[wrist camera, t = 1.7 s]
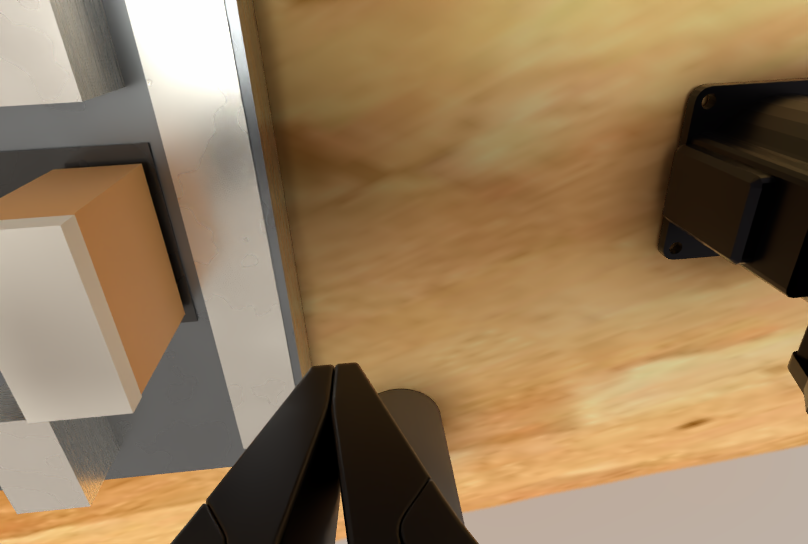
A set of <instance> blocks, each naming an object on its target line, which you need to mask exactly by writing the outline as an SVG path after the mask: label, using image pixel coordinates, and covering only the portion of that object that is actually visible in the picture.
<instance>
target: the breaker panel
mask: <svg viewBox="0 0 808 544" xmlns="http://www.w3.org/2000/svg"><path fill="white" fill-rule="evenodd" d="M128 164H142V167H143V170H144V174H145V177H146V181H147V184H148V187H149V191H150V194H151V198H152V201H153V205H154V208H155V212H156V215H157V219H158V222H159V225H160V229H161V232H162V236H163V239H164V243H165V246H166V250H167V253H168V256H169V260H170V263H171V267H172V270H173V274H174V277H175V281H176V284H177V288H178V291H179V294H180V298H181V301H182V305H183V308H184V312H185V315H184V317H183V319H182V321H181V323H180V325H179V326H178V328H177V330H176V332H175V334H174V336H173V337H172V339H171V341H170V343H169V345H168V347H167V348H166V350H165V352H164V354H163V356H162V358H161V359H160V361H159V363H158V365H157V367H156V369H155V370H154V372H153V374H152V376H151V378H150V380H149V381H148V383H147V385H146V387H145V389H144V391H143V392H142V394H141V395H142V398H141V400H140V402H139V403H138V405H137V407H136V409H135V411H134V413H131V414H121V415H110V416H100V417H89V418H79V419H68V420H58V421H47V422H37V423H27V421H26V419H25V417H24V415H23V413H22V411H21V409H20V407H19V405H18V404H17V402H16V400H15V398H14V396H13V394H12V392H11V390H10V388H9V386H8V384H7V383H6V381H5V379H4V377H3V375H2V373H1V371H0V490H3V491H4V493H5V495H6V496H7V498H8V500H9V501H10V503H11V505H12V506H13V508H14V509H15V511H16V513H17V514H21V513H31V512H40V511H50V510H59V509H69V508H78V507H88V506H91V504H92V502H93V501H94V499H95V497H96V495H97V493H98V491H99V489H100V487H101V485H102V483H103V481H104V480H107V479H116V478H126V477H136V476H146V475H155V474H165V473H175V472H185V471H194V470H204V469H214V468H223V467H233V465H234V464H235V463H236V462H237V460H238V459H239V458H240V457H241V455H242V454H243V453H244V452H245V450H246V449H247V448H248V446H249V445H250V444H251V443H252V441H253V440H254V439H255V438H256V436H257V435H258V434H259V433H260V431H261V430H262V429H263V427H264V426H265V425H266V424H267V422H268V421H269V420H270V419H271V417H272V416H273V415H274V414H275V412H276V411H277V410H278V408H279V407H280V406H281V405H282V403H283V402H284V401H285V400H286V398H287V397H288V396H289V395H290V393H291V392H292V391H293V390H294V388H295V387H296V386H297V384H298V383H299V382H300V381H301V379H302V378H303V377H304V376H305V374H306V373H307V372H308V371H309V369H310V368H311V367H312V364H311V358H310V352H309V346H308V339H307V333H306V327H305V321H304V315H303V308H302V302H301V296H300V290H299V284H298V277H297V271H296V265H295V259H294V253H293V247H292V240H291V234H290V228H289V222H288V216H287V209H286V203H285V197H284V191H283V185H282V178H281V172H280V166H279V160H278V154H277V148H276V141H275V135H274V129H273V123H272V117H271V110H270V104H269V98H268V92H267V86H266V79H265V73H264V67H263V61H262V55H261V48H260V42H259V36H258V30H257V24H256V18H255V11H254V5H253V0H0V198H1V197H3V196H5V195H7V194H9V193H11V192H12V191H14V190H16V189H18V188H20V187H22V186H24V185H25V184H27V183H29V182H31V181H33V180H35V179H36V178H38V177H40V176H42V175H44V174H46V173H48V172H49V171H51V170H53V169H68V168H83V167H98V166H113V165H128Z"/></svg>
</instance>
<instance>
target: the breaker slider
mask: <svg viewBox="0 0 808 544" xmlns="http://www.w3.org/2000/svg"><path fill="white" fill-rule="evenodd" d="M184 315H185V312H184V308H183V305H182V301H181V298H180V294H179V291H178V288H177V284H176V281H175V277H174V274H173V270H172V267H171V263H170V260H169V256H168V253H167V250H166V246H165V243H164V239H163V236H162V232H161V229H160V225H159V222H158V219H157V215H156V212H155V208H154V205H153V201H152V198H151V194H150V191H149V187H148V184H147V181H146V177H145V174H144V170H143V167H142V164H128V165H113V166H98V167H83V168H68V169H53V170H51V171H49V172H48V173H46V174H44V175H42V176H40V177H38V178H36V179H35V180H33V181H31V182H29V183H27V184H25V185H24V186H22V187H20V188H18V189H16V190H14V191H12V192H11V193H9V194H7V195H5V196H3V197H1V198H0V371H1V373H2V375H3V377H4V379H5V381H6V383H7V384H8V386H9V388H10V390H11V392H12V394H13V396H14V398H15V400H16V402H17V404H18V405H19V407H20V409H21V411H22V413H23V415H24V417H25V419H26V421H27V423H37V422H47V421H58V420H68V419H79V418H89V417H100V416H110V415H121V414H131V413H134V411H135V409H136V407H137V405H138V403H139V402H140V400H141V398H142V395H141V394H142V392H143V391H144V389H145V387H146V385H147V383H148V381H149V380H150V378H151V376H152V374H153V372H154V370H155V369H156V367H157V365H158V363H159V361H160V359H161V358H162V356H163V354H164V352H165V350H166V348H167V347H168V345H169V343H170V341H171V339H172V337H173V336H174V334H175V332H176V330H177V328H178V326H179V325H180V323H181V321H182V319H183V317H184Z"/></svg>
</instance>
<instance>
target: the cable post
mask: <svg viewBox="0 0 808 544" xmlns="http://www.w3.org/2000/svg"><path fill="white" fill-rule="evenodd" d="M378 395H379V397H380V399H381V400H382V402H383V403H384V405H385V406H386V408H387V409H388V411H389V413H390V414H391V416H392V417H393V419H394V420H395V422H396V424H397V425H398V427H399V428H400V430H401V431H402V433H403V434H404V436H405V438H406V439H407V441H408V442H409V444H410V445H411V447H412V448H413V450H414V452H415V453H416V455H417V456H418V458H419V459H420V461H421V463H422V464H423V466H424V467H425V469H426V470H427V472H428V473H429V475H430V477H431V480H432V481H434V482H435V484H436V486H437V487H438V489H439V490H440V492H441V493H442V495H443V496H444V498H445V499H446V501H447V502H448V504H449V505H450V507H451V508H452V509H453V511H454V512H455V514H456V515H457V517H458V518H459V520H460V521H461V522H462V524H463V525H464V521H463V516H462V511H461V507H460V502H459V497H458V493H457V488H456V484H455V479H454V474H453V470H452V465H451V461H450V456H449V451H448V447H447V442H446V438H445V433H444V428H443V424H442V419H441V415H440V411H439V409H438V407H437V405H436V404H435V402H434V401H433V400H432V399H430V398H429V397H428V396H426V395H424V394H422V393H420V392H417V391H413V390H408V389H395V390H389V391H385V392H382V393H380V394H378ZM464 526H465V525H464Z"/></svg>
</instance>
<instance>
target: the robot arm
mask: <svg viewBox="0 0 808 544" xmlns="http://www.w3.org/2000/svg"><path fill="white" fill-rule="evenodd" d="M706 95H709V100H708V102H707V104H706V105H705V106H703V107H702V100H703V98H704V97H705V96H706ZM663 215H664V219H663V223H662V228H661V233H660V238H659V243H658V250H659V252H660V253H661V254H662V255H663V256H665V257H666V258H668V259H672V260H675V259H687V258H699V257H711V256H722V257H723V258H725V259H726V260H728V261H729V262H731V263H732V264H739V265H741V266H742V267H744V268H745V269H747V270H748V271H750V272H751V273H753V274H754V275H756V276H758V277H759V278H761V279H762V280H764V281H765V282H767V283H768V284H770V285H771V286H773V287H774V288H776V289H777V290H779V291H780V292H782V293H783V294H785V295H786V296H788V297H791V298H798V297H801V298H802V299H804V300H806V301H807V302H808V78H801V79H785V80H768V81H752V82H736V83H720V84H705V85H701V86H699V87H697V88H696V89H694V91H693V92H692V93H691V94H690V97H689V99H688V103H687V108H686V112H685V117H684V122H683V127H682V132H681V137H680V141H679V146H678V149H677V150H676V152H675V155H674V160H673V165H672V170H671V174H670V179H669V184H668V189H667V194H666V199H665V204H664V209H663ZM673 243H676V245H675V247H674V248H673V249H670V247H671V245H672V244H673ZM788 369H789V371H790V373H791V374H792V376H793V378H794V379H795V381H796V382H797V384H798V386H799V387H800V389H801V391H802V392H803V394H804V397H805V407H806V412H807V414H808V326H807V329H806V331H805V334H804V336H803V339H802V342H801V344H800V347H799V349H798V351H795V352H793V354H792V356H791V359H790V362H789V364H788ZM340 491H341V497H342V505H343V512H344V520H345V527H346V535H347V542H348V544H478V542H477V541H476V540H475V539H474V537H473V536H472V535H471V533H470V532H469V531H468V530H467V528H466V527H465V526H464V525H463V524H462V522H461V521H460V520H459V518H458V517H457V515H456V514H455V512H454V511H453V509H452V508H451V507H450V505H449V504H448V502H447V501H446V499H445V498H444V496H443V495H442V493H441V492H440V490H439V489H438V487H437V486H436V484H435V482H434V481H432V480H431V477H430V475H429V473H428V472H427V470H426V469H425V467H424V466H423V464H422V463H421V461H420V459H419V458H418V456H417V455H416V453H415V452H414V450H413V448H412V447H411V445H410V444H409V442H408V441H407V439H406V438H405V436H404V434H403V433H402V431H401V430H400V428H399V427H398V425H397V424H396V422H395V420H394V419H393V417H392V416H391V414H390V413H389V411H388V409H387V408H386V406H385V405H384V403H383V402H382V400H381V399H380V397H379V395H378V394H377V392H376V391H375V389H374V388H373V386H372V384H371V383H370V381H369V380H368V378H367V377H366V375H365V374H364V372H363V370H362V369H361V367H360V366H359V364H357V363H343V364H337V365H336V366H335V367H334V366H333V365H320V366H313V367H311V368H310V369H309V371H308V372H307V373H306V374H305V376H304V377H303V378H302V379H301V381H300V382H299V383H298V384H297V386H296V387H295V388H294V390H293V391H292V392H291V393H290V395H289V396H288V397H287V398H286V400H285V401H284V402H283V403H282V405H281V406H280V407H279V408H278V410H277V411H276V412H275V414H274V415H273V416H272V417H271V419H270V420H269V421H268V422H267V424H266V425H265V426H264V427H263V429H262V430H261V431H260V433H259V434H258V435H257V436H256V438H255V439H254V440H253V441H252V443H251V444H250V445H249V446H248V448H247V449H246V450H245V452H244V453H243V454H242V455H241V457H240V458H239V459H238V460H237V462H236V463H235V464H234V465H233V467H232V468H231V469H230V470H229V472H228V473H227V474H226V476H225V477H224V478H223V479H222V481H221V482H220V483H219V484H218V486H217V487H216V488H215V489H214V491H213V492H212V493H211V495H210V496H209V497H208V498H207V500H206V504H202V506H201V507H200V508H199V509H198V511H197V512H196V513H195V514H194V516H193V517H192V518H191V520H190V521H189V522H188V523H187V524H186V526H185V527H184V528H183V529H182V530H181V532H180V533H179V534H178V535H177V536H176V538H175V539H174V540H173V541H172V542H171V544H335V538H336V529H337V520H338V511H339V502H340Z"/></svg>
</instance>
